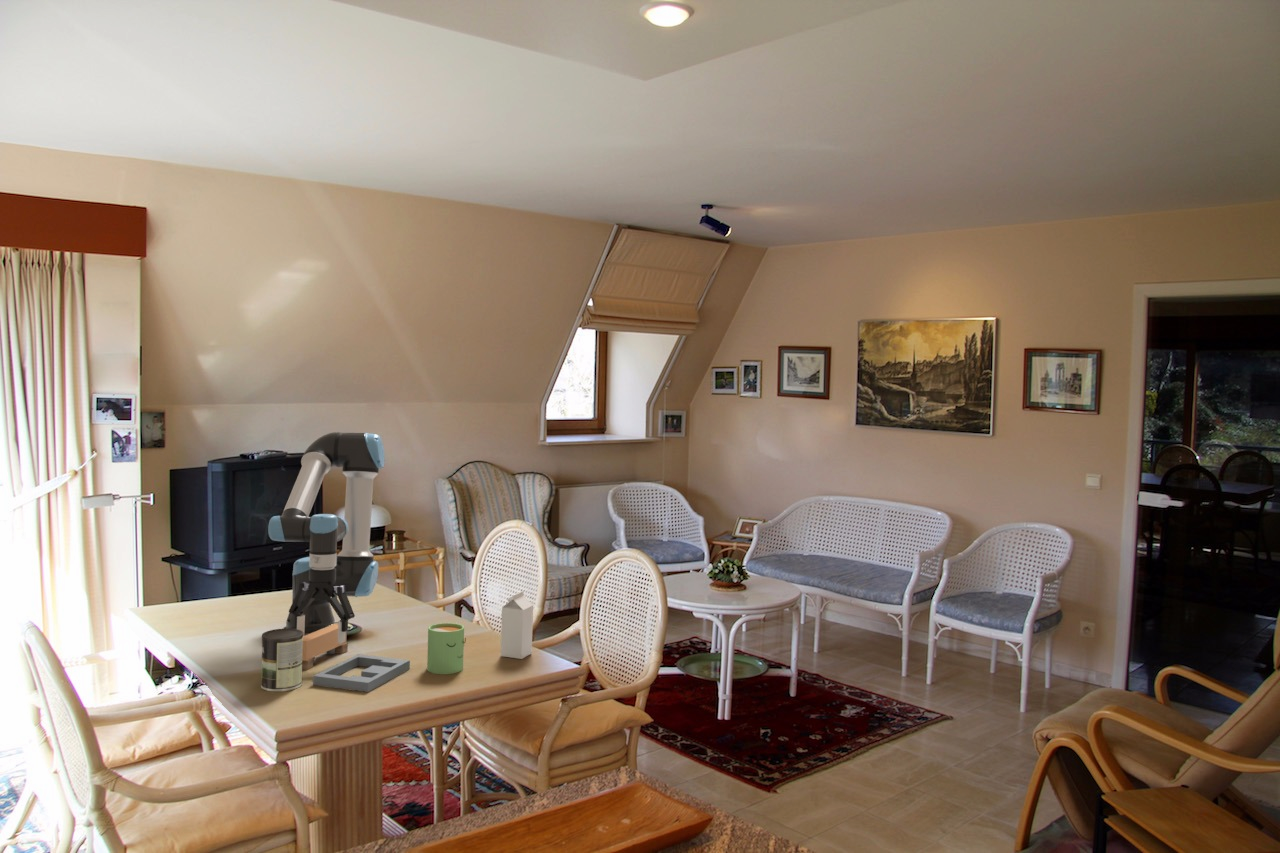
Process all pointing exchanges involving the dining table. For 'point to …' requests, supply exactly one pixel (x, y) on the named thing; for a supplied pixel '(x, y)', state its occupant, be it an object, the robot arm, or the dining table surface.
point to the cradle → (339, 649)
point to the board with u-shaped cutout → (362, 673)
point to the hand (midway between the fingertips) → (320, 640)
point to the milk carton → (517, 627)
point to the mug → (445, 648)
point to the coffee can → (281, 660)
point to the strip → (321, 642)
